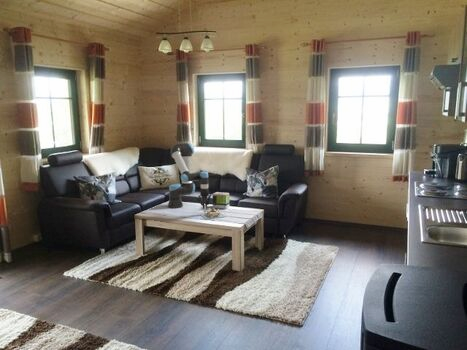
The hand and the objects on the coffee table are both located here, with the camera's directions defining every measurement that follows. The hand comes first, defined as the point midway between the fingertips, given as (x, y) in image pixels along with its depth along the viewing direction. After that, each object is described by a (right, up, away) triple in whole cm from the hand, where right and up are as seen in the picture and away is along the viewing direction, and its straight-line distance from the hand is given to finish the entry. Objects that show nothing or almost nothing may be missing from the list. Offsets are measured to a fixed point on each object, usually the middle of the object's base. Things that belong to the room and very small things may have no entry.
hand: (204, 212), depth 355 cm
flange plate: (+7, -2, -4) cm, 8 cm away
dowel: (+13, -2, +3) cm, 13 cm away
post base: (+8, -3, -6) cm, 10 cm away
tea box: (+15, +2, +24) cm, 28 cm away
